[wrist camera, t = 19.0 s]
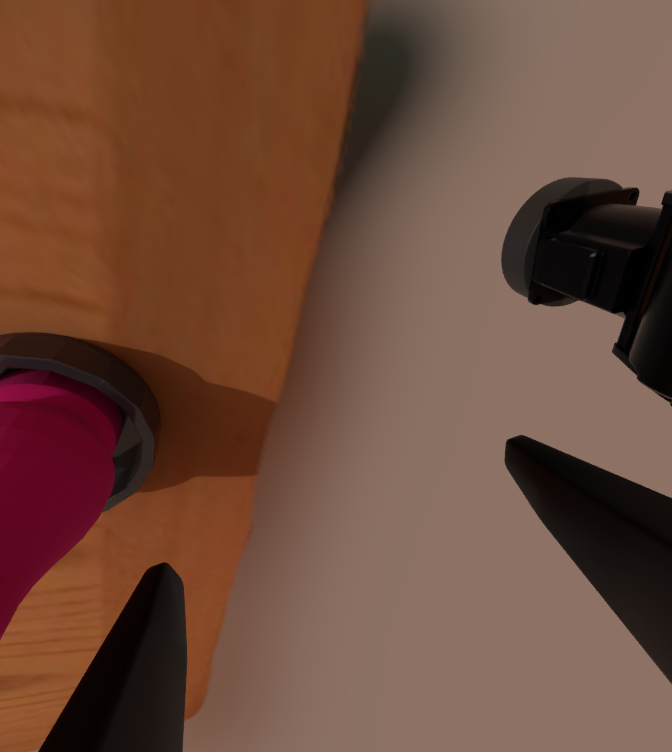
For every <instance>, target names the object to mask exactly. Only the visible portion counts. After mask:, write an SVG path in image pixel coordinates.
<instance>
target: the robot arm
mask: <svg viewBox="0 0 672 752" xmlns="http://www.w3.org/2000/svg"><path fill="white" fill-rule="evenodd" d="M638 197H639V189H638V188H631V187H628V188H622V189H617V190H611V191H606V192H600V193H595V194H589V195H584V196H578V197H573V198H567V199H562V200H556V201H551V202H549V203H548V204H547V205H546V206H545V207H544V210H543V214H542V220H541V226H540V231H539V237H538V243H537V248H536V254H535V260H534V266H533V271H532V277H531V283H530V288H529V294H528V302H529V303H531V304H533V305H540V304H544V303H549V302H553V301H557V300H562V299H566V298H570V297H572V298H574V299H577V300H580V301H583V302H585V303H588V304H590V305H593V306H596V307H598V308H600V309H603V310H605V311H608V312H610V313H612V314H615V315H618V316H620V317H623V318H625V320H624V323H623V327H622V329H621V332H620V335H619V338H618V341H617V343H615V344H614V347H613V350H612V353H613V354H614V355H615V356H617V357H618V358H619V359H620V360H621V361H622V362H623V363H624V364H625V365H626V366H627V367H628V368H629V369H630V370H632V371H633V372H634V373H635V374H636V375H637V379H638V380H639V381H640V382H641V383H642V384H644V385H645V386H646V387H648V388H649V389H651V390H652V391H654V392H655V393H657V394H658V395H659V396H661V397H662V398H664V399H665V400H667V401H669V402H671V403H670V405H671V406H672V190H671V191H666V192H665V194H664V197H663V200H662V203H661V204H662V205H663V207H662V209H660V208H652V207H643V206H636V204H637V200H638ZM553 208H554V211H553V212H552V214H551V211H552V209H553ZM537 295H538V296H537ZM536 296H537V298H536ZM535 298H536V299H535ZM505 464H506V467H507V469H508V471H509V472H510V474H511V475H512V477H513V478H514V480H515V482H516V483H517V485H518V486H519V488H520V489H521V491H522V492H523V494H524V495H525V497H526V499H527V500H528V501H529V503H530V505H531V506H532V508H533V509H534V511H535V512H536V514H537V515H538V517H539V518H540V520H541V521H542V522H543V524H544V525H545V526H546V528H547V529H548V530H549V531H550V533H552V535H553V536H554V538H555V539H556V540H557V541H558V542H559V544H560V545H561V546H562V547H563V549H564V550H565V551H566V553H567V554H568V555H569V556H570V557H571V559H572V560H573V561H574V563H575V564H576V565H577V566H578V568H579V569H580V570H581V571H582V572H583V574H584V575H585V576H586V578H587V579H588V580H589V581H590V582H591V584H592V585H593V586H594V587H595V589H596V590H597V591H598V592H599V594H600V595H601V596H602V597H603V599H604V600H605V601H606V602H607V604H608V605H609V606H610V608H611V609H612V610H613V611H614V612H615V614H616V615H617V616H618V617H619V619H620V620H621V621H622V622H623V624H624V625H625V626H626V627H627V629H628V630H629V631H630V633H631V634H632V635H633V636H634V637H635V639H636V640H637V641H638V642H639V644H640V645H641V646H642V647H643V649H644V650H645V651H646V652H647V654H648V655H649V656H650V657H651V659H652V660H653V661H654V662H655V664H656V665H657V666H658V668H659V669H660V670H661V671H662V672H663V674H664V675H665V676H666V677H667V679H668V680H669V681H670V682H671V684H672V498H670V497H667V496H665V495H663V494H660V493H658V492H656V491H653V490H651V489H649V488H646V487H644V486H642V485H639V484H637V483H635V482H632V481H630V480H627V479H625V478H623V477H620V476H618V475H615V474H613V473H611V472H608V471H606V470H604V469H601V468H599V467H597V466H594V465H592V464H590V463H588V462H585V461H583V460H581V459H578V458H576V457H573V456H571V455H569V454H566V453H564V452H562V451H559V450H557V449H555V448H552V447H550V446H548V445H545V444H543V443H541V442H538V441H536V440H533V439H531V438H529V437H526V436H523V435H519V436H516V437H513V438H510V439H508V440H507V442H506V449H505ZM186 674H187V638H186V619H185V599H184V586H183V582H182V579H181V578H180V577H179V575H178V574H177V573H176V572H175V571H174V570H173V568H172V567H171V566H170V565H169V564H168V563H165V562H164V563H161V564H158V565H155V566H152V567H150V568H149V569H148V570H147V571H146V572H145V573H144V575H143V577H142V578H141V580H140V582H139V584H138V585H137V587H136V589H135V590H134V592H133V594H132V595H131V597H130V599H129V600H128V602H127V604H126V605H125V607H124V609H123V610H122V612H121V614H120V615H119V617H118V619H117V620H116V622H115V624H114V625H113V627H112V629H111V631H110V632H109V634H108V636H107V637H106V639H105V641H104V642H103V644H102V646H101V647H100V649H99V651H98V652H97V654H96V656H95V657H94V659H93V661H92V662H91V664H90V666H89V667H88V669H87V671H86V672H85V674H84V676H83V677H82V679H81V681H80V683H79V684H78V686H77V688H76V689H75V691H74V693H73V694H72V696H71V698H70V699H69V701H68V703H67V704H66V706H65V708H64V709H63V711H62V713H61V714H60V716H59V718H58V719H57V721H56V723H55V724H54V726H53V728H52V729H51V731H50V733H49V735H48V736H47V738H46V740H45V741H44V743H43V745H42V746H41V748H40V750H39V751H38V752H182V751H183V731H184V712H185V693H186Z"/></svg>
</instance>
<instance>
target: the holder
mask: <svg viewBox="0 0 672 752" xmlns="http://www.w3.org/2000/svg"><path fill="white" fill-rule="evenodd" d="M23 369H35V370H45V371H53V372H55V373H58V374H61V375H63V376H66V377H69V378H71V379H74V380H76V381H79V382H82V383H84V384H87V385H90V386H92V387H95V388H97V389H98V390H99V391H101V392H102V393H103V394H104V395H106V396H107V397H108V398H109V399H111V400H112V401H113V402H115V403H116V404H117V406H118V408H119V410H120V412H121V416H122V423H123V427H122V433H121V436H120V438H119V441H118V444H117V446H116V449H115V451H114V454H113V456H112V459H113V462H114V467H115V479H114V485H113V489H112V492H111V494H110V496H109V499H108V501H107V503H106V505H105V507H104V509H103V511H102V512H104V511H107V510H109V509H111V508H112V507H114V506H115V505H117V504H118V503H120V502H122V501H123V500H125V499H126V498H128V497H129V496H131V495H133V494H134V493H135V492H137V491H138V489H139V488H140V486H141V485H142V483H143V482H144V480H145V479H146V477H147V476H148V474H149V473H150V471H151V470H152V468H153V465H154V461H155V456H156V452H157V448H158V444H159V433H160V426H161V423H160V412H159V408H158V405H157V402H156V400H155V397H154V395H153V394H152V392H151V390H150V388H149V387H148V386H147V384H146V383H145V382H144V380H143V379H142V378H141V377H140V376H139V375H138V374H137V373H136V372H135V371H134V370H133V369H132V368H131V367H129V366H128V365H127V364H126V363H124V362H123V361H122V360H120V359H118V358H117V357H115V356H114V355H112V354H110V353H108V352H106V351H104V350H102V349H100V348H98V347H96V346H94V345H91V344H88V343H86V342H83V341H80V340H76V339H73V338H69V337H65V336H59V335H53V334H45V333H11V334H4V335H0V377H1V376H4V375H6V374H8V373H11V372H14V371H18V370H23Z"/></svg>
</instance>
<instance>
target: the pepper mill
mask: <svg viewBox="0 0 672 752" xmlns="http://www.w3.org/2000/svg"><path fill="white" fill-rule="evenodd" d="M122 427H123V423H122V416H121V412H120V410H119V408H118V406H117V404H116V403H115V402H113V401H112V400H111V399H109V398H108V397H107V396H106V395H104V394H103V393H102V392H101V391H99V390H98V389H97V388H95V387H92V386H90V385H87V384H84V383H82V382H79V381H76V380H74V379H71V378H69V377H66V376H63V375H61V374H58V373H55V372H53V371H45V370H35V369H23V370H18V371H14V372H11V373H8V374H6V375H4V376H1V377H0V639H1V637H2V635H3V634H4V632H5V630H6V628H7V626H8V624H9V622H10V621H11V619H12V617H13V615H14V613H15V611H16V609H17V607H18V606H19V604H20V603H21V601H22V600H23V599H24V597H25V596H26V595H27V594H28V592H29V591H30V590H31V588H32V587H33V586H34V585H35V584H36V583H37V582H38V581H39V580H40V578H41V577H42V576H43V575H44V574H45V573H46V572H47V571H48V570H49V569H50V568H51V567H52V566H53V565H54V564H56V563H57V562H58V561H59V560H60V559H61V558H62V557H63V556H64V555H65V554H67V553H68V552H69V551H70V550H71V549H72V548H73V547H74V546H75V545H76V544H77V543H78V542H79V541H80V540H81V539H83V537H84V536H85V535H86V533H87V532H88V531H89V530H90V528H91V527H92V526H93V524H94V523H95V522H96V521H97V519H98V518H99V516H100V514H101V513H102V511H103V509H104V507H105V505H106V503H107V501H108V499H109V496H110V494H111V492H112V489H113V485H114V479H115V467H114V462H113V459H112V456H113V454H114V451H115V449H116V446H117V444H118V441H119V438H120V436H121V433H122Z"/></svg>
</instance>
